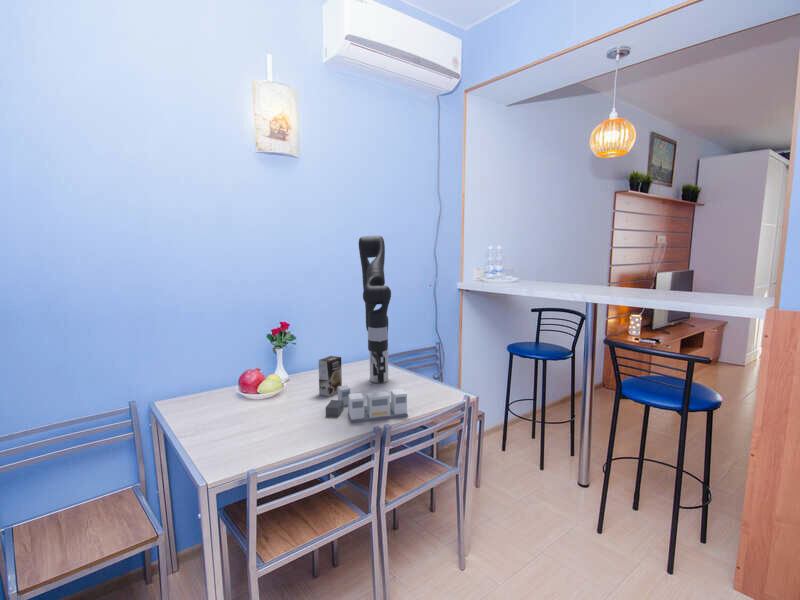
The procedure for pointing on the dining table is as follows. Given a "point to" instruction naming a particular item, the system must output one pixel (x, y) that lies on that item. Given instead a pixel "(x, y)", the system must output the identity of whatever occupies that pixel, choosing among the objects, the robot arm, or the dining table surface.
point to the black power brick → (334, 408)
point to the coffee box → (330, 375)
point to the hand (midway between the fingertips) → (378, 378)
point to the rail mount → (359, 414)
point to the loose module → (378, 404)
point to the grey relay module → (344, 394)
